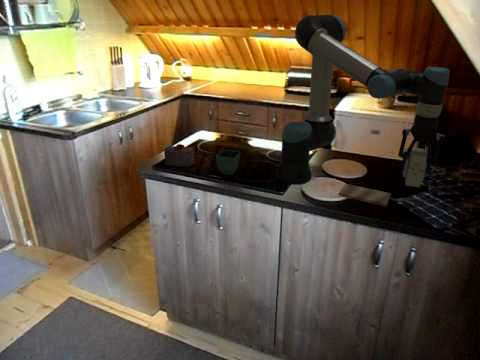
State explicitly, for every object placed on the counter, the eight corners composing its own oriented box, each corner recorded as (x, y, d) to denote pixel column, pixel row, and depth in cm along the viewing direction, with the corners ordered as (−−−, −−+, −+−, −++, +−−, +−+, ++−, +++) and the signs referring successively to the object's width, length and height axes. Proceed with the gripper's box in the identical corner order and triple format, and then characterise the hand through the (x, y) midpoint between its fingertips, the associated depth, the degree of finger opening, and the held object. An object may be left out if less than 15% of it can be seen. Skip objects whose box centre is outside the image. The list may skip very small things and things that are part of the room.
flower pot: (215, 175, 168) (215, 156, 164) (222, 168, 176) (221, 149, 172) (235, 177, 166) (235, 158, 162) (240, 170, 174) (240, 151, 170)
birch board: (338, 195, 151) (338, 192, 151) (345, 186, 159) (345, 183, 159) (386, 206, 143) (386, 203, 143) (390, 196, 151) (391, 193, 151)
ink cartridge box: (404, 176, 145) (412, 139, 139) (418, 178, 143) (427, 141, 137) (404, 185, 138) (413, 146, 131) (419, 187, 136) (429, 148, 130)
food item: (196, 162, 182) (195, 142, 178) (192, 168, 175) (191, 148, 171) (168, 160, 183) (167, 141, 179) (163, 167, 176) (161, 146, 172)
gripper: (397, 113, 131) (384, 175, 141) (457, 121, 123) (440, 187, 133) (400, 108, 137) (388, 168, 147) (458, 116, 129) (441, 179, 139)
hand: (413, 177), depth 140 cm, fingers closed on ink cartridge box, 5 cm apart
